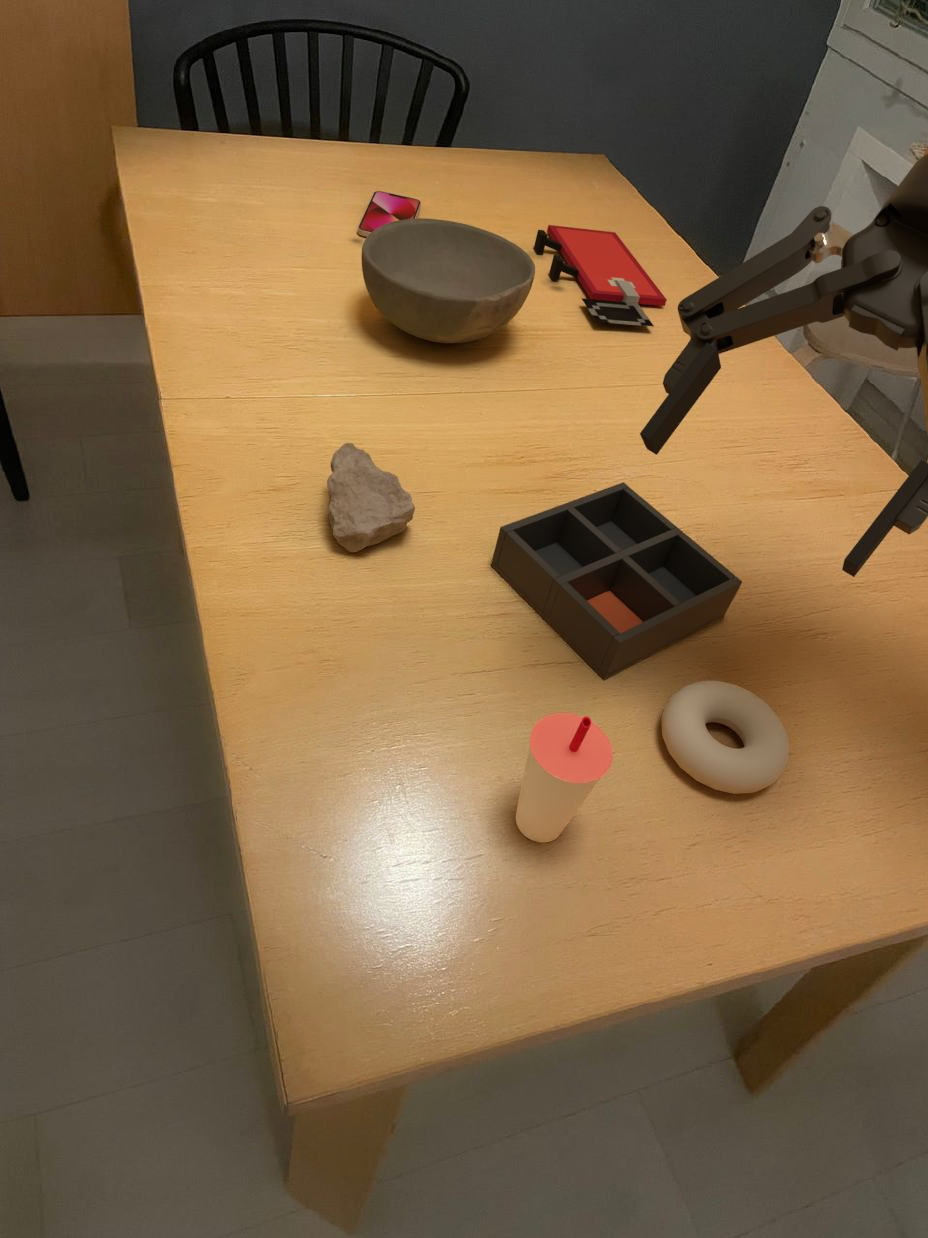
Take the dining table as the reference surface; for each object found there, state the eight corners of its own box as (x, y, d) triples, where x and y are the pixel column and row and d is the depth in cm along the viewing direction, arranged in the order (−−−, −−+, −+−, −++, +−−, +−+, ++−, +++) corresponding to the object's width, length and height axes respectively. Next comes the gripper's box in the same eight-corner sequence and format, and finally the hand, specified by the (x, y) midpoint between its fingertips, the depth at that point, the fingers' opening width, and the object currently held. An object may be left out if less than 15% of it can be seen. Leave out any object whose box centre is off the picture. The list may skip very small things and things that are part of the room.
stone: (293, 498, 81) (295, 446, 77) (369, 480, 85) (375, 429, 81) (342, 565, 76) (347, 513, 72) (421, 543, 80) (430, 492, 76)
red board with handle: (580, 327, 114) (683, 335, 118) (586, 306, 112) (690, 315, 117) (523, 231, 134) (612, 241, 139) (527, 212, 132) (617, 223, 137)
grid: (723, 618, 80) (743, 581, 76) (603, 680, 72) (620, 643, 69) (609, 518, 87) (623, 481, 84) (490, 565, 79) (500, 526, 76)
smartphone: (356, 229, 122) (374, 189, 133) (355, 236, 123) (373, 196, 134) (408, 240, 123) (422, 199, 133) (407, 247, 123) (421, 206, 134)
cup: (571, 864, 59) (624, 763, 51) (495, 843, 60) (535, 739, 51) (580, 799, 63) (630, 695, 55) (508, 780, 63) (547, 673, 55)
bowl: (439, 278, 118) (450, 202, 111) (550, 347, 110) (570, 270, 103) (321, 311, 107) (325, 228, 99) (436, 391, 98) (449, 308, 91)
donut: (685, 679, 74) (633, 751, 67) (700, 652, 71) (648, 724, 65) (794, 745, 71) (752, 827, 64) (814, 718, 68) (772, 800, 62)
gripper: (1184, 323, 47) (935, 638, 49) (785, 150, 57) (588, 421, 59) (1251, 247, 40) (958, 617, 42) (783, 65, 50) (560, 374, 52)
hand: (743, 504), depth 50 cm, fingers open, 13 cm apart
